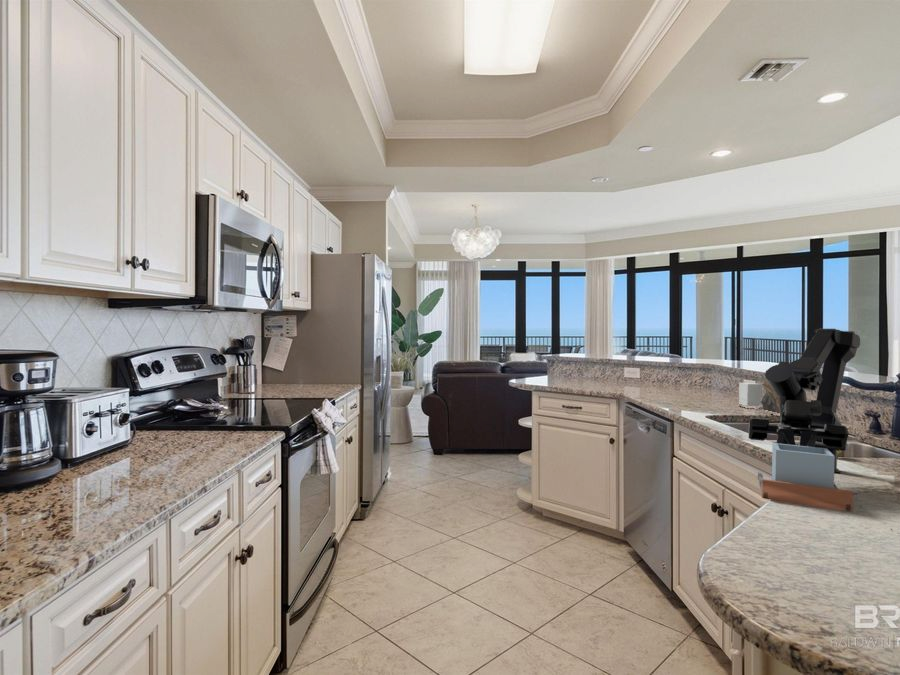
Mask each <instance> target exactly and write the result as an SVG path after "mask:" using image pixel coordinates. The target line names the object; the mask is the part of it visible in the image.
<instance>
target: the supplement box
mask: <svg viewBox="0 0 900 675" xmlns="http://www.w3.org/2000/svg"><path fill="white" fill-rule="evenodd" d="M738 384H739V385H738V386H739V391H738V399H739V400H738V405H739V404H742V405H747V406H759V405H761V406H762V403H761V401H762V397H763V396H762V394H763V393H762V388H763V387H762V386H763V385H762V384H761V383H756V382H739V383H738Z"/></svg>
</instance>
